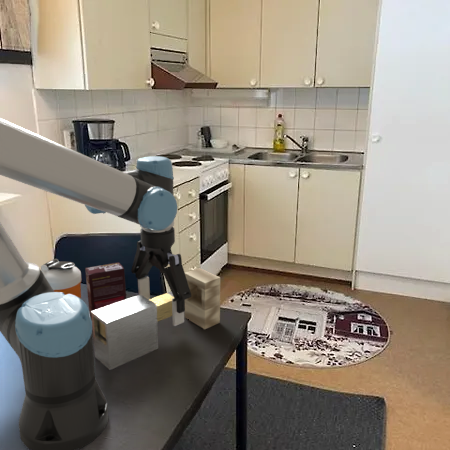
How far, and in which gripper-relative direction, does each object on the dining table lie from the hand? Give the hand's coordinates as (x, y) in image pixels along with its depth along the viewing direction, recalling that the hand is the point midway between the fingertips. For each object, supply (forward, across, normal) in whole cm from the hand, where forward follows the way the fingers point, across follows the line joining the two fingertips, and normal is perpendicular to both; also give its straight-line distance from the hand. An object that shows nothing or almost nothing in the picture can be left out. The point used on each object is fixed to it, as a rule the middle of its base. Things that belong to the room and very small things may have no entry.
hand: (160, 312), depth 110 cm
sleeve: (+7, 0, +10) cm, 12 cm away
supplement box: (+7, +13, +7) cm, 16 cm away
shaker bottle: (+7, +13, +18) cm, 23 cm away
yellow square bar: (+1, 0, +5) cm, 5 cm away
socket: (+7, 0, -13) cm, 14 cm away
